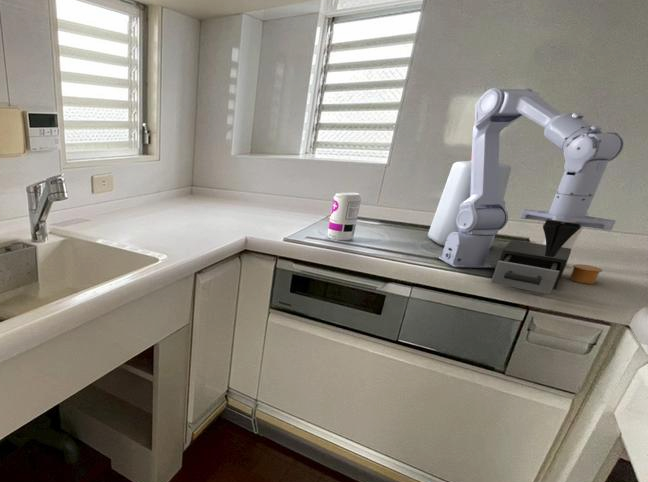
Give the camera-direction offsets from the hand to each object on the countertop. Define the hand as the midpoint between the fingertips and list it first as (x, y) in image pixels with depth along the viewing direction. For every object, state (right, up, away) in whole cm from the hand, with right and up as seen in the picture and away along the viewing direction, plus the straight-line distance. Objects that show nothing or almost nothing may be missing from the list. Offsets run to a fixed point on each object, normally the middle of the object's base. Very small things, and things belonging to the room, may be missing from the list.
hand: (550, 255), depth 90 cm
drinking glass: (+21, 0, +21) cm, 30 cm away
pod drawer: (-2, -6, +4) cm, 8 cm away
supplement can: (-24, +11, +48) cm, 55 cm away
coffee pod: (+17, -5, +9) cm, 20 cm away
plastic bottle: (+11, +8, +41) cm, 43 cm away
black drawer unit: (+6, -4, +12) cm, 14 cm away
